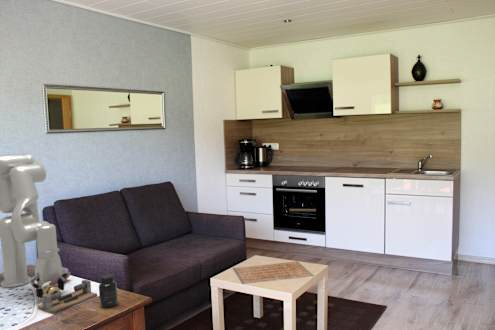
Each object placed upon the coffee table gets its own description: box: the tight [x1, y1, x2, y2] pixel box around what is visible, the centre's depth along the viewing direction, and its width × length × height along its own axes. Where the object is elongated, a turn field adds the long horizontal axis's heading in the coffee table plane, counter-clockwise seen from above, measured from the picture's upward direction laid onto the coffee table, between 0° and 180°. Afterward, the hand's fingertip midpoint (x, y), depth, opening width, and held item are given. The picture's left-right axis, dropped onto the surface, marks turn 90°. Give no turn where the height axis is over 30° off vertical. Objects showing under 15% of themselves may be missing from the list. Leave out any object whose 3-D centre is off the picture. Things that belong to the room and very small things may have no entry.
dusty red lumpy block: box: [48, 270, 72, 287], centre depth 202 cm, size 10×5×7 cm, turn 169°
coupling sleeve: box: [41, 284, 62, 295], centre depth 185 cm, size 6×5×5 cm
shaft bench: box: [37, 279, 98, 316], centre depth 179 cm, size 11×20×6 cm, turn 148°
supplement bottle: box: [98, 273, 119, 309], centre depth 175 cm, size 7×7×12 cm
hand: (50, 293), depth 185 cm, fingers open, 9 cm apart
